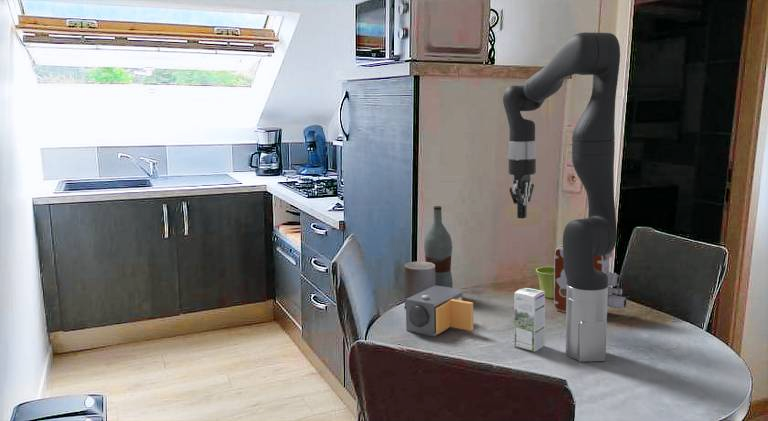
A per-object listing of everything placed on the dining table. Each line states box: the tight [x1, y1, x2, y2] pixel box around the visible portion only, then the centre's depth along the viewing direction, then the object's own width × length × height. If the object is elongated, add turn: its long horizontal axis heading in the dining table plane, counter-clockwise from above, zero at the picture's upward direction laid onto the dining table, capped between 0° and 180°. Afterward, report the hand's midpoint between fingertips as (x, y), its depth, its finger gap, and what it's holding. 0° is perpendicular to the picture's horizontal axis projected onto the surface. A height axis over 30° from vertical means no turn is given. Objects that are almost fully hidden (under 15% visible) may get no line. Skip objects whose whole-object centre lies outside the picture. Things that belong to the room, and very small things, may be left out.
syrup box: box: [513, 287, 546, 353], centre depth 142 cm, size 6×6×14 cm
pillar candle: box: [403, 261, 435, 310], centre depth 175 cm, size 10×10×15 cm
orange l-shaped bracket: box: [436, 299, 474, 335], centre depth 152 cm, size 8×7×8 cm
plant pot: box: [535, 266, 554, 299], centre depth 184 cm, size 9×9×9 cm
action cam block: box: [405, 285, 464, 338], centre depth 159 cm, size 17×9×10 cm, turn 145°
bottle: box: [423, 205, 454, 288], centre depth 186 cm, size 9×9×30 cm
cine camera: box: [553, 244, 628, 313], centre depth 165 cm, size 9×19×20 cm, turn 53°
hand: (521, 218), depth 163 cm, fingers closed
